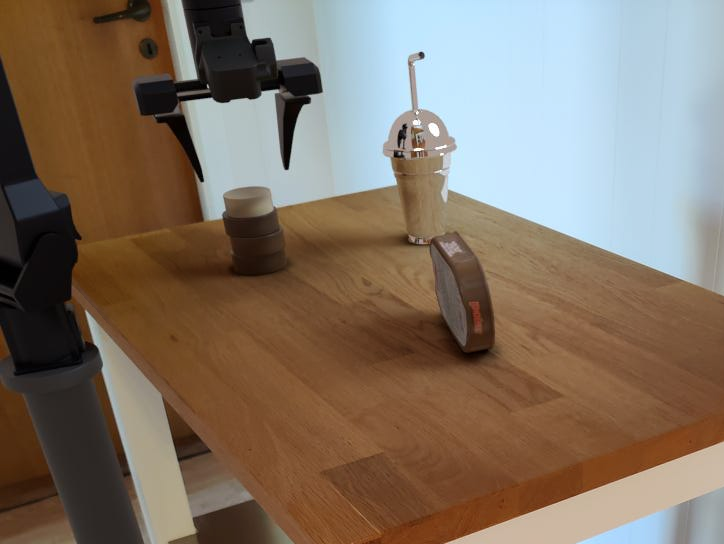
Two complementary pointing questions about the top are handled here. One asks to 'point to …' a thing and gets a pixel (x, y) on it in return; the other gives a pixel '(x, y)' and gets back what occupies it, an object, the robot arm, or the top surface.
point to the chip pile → (256, 243)
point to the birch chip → (248, 202)
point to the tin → (463, 292)
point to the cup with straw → (421, 166)
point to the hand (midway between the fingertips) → (244, 175)
